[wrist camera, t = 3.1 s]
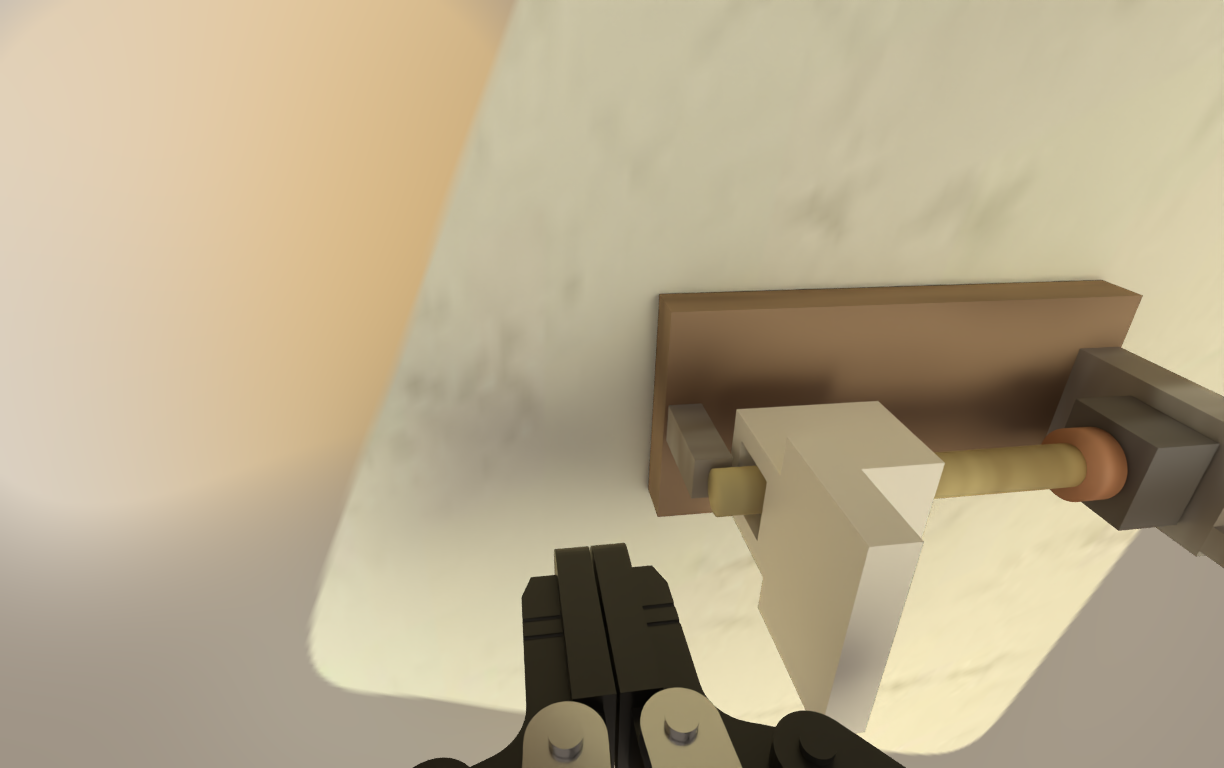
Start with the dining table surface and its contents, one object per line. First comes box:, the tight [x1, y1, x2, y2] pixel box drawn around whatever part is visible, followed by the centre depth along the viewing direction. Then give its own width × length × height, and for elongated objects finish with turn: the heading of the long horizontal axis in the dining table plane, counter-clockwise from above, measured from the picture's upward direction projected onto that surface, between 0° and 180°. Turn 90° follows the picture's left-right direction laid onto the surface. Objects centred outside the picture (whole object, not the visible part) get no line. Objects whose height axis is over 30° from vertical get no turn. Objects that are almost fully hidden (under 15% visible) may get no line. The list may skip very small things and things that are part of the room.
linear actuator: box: [648, 280, 1224, 568], centre depth 18 cm, size 7×15×8 cm, turn 89°
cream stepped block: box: [731, 401, 945, 733], centre depth 15 cm, size 5×4×6 cm
